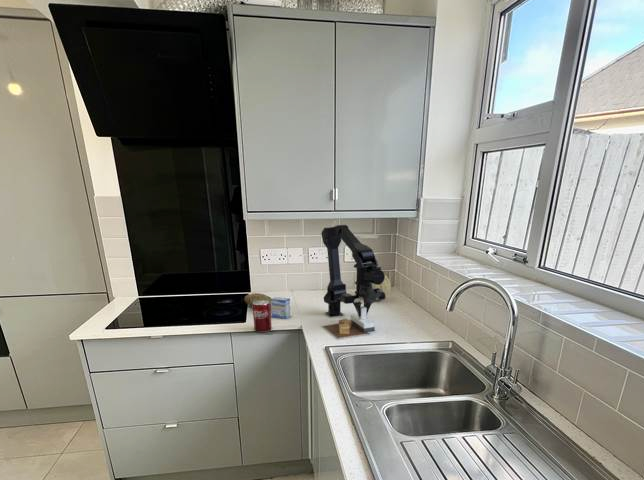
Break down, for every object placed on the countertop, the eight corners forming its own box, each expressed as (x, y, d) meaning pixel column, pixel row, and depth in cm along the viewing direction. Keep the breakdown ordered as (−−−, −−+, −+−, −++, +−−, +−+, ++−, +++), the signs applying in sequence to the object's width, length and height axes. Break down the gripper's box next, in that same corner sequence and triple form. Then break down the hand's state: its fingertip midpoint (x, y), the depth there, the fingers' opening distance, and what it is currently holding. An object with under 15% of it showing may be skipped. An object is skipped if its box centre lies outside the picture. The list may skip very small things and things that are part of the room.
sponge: (277, 314, 196) (269, 295, 212) (274, 300, 191) (266, 282, 207) (251, 321, 194) (245, 302, 209) (247, 307, 189) (241, 289, 204)
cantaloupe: (395, 299, 214) (397, 271, 209) (378, 305, 205) (379, 276, 199) (373, 294, 224) (374, 267, 218) (356, 300, 214) (356, 271, 208)
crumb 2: (339, 330, 169) (339, 324, 168) (348, 330, 169) (348, 323, 168) (339, 334, 165) (339, 327, 164) (349, 334, 166) (349, 327, 164)
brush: (350, 322, 178) (350, 304, 175) (360, 321, 180) (361, 302, 176) (363, 332, 167) (364, 312, 164) (374, 330, 169) (375, 310, 165)
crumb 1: (338, 326, 174) (338, 320, 173) (345, 325, 176) (345, 318, 175) (344, 329, 171) (344, 322, 170) (351, 327, 173) (351, 320, 172)
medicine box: (271, 317, 188) (270, 299, 184) (275, 314, 191) (274, 296, 188) (286, 318, 185) (285, 300, 182) (290, 316, 189) (290, 298, 186)
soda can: (266, 333, 167) (264, 305, 162) (251, 331, 169) (248, 304, 165) (274, 328, 173) (273, 301, 169) (259, 326, 176) (257, 299, 171)
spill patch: (323, 326, 175) (323, 326, 175) (352, 322, 180) (352, 321, 180) (337, 338, 161) (337, 338, 161) (369, 334, 166) (369, 333, 166)
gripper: (350, 286, 155) (350, 324, 161) (393, 282, 162) (391, 319, 168) (339, 280, 165) (339, 317, 171) (379, 276, 171) (378, 311, 178)
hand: (362, 316), depth 172 cm, fingers closed on brush, 2 cm apart
